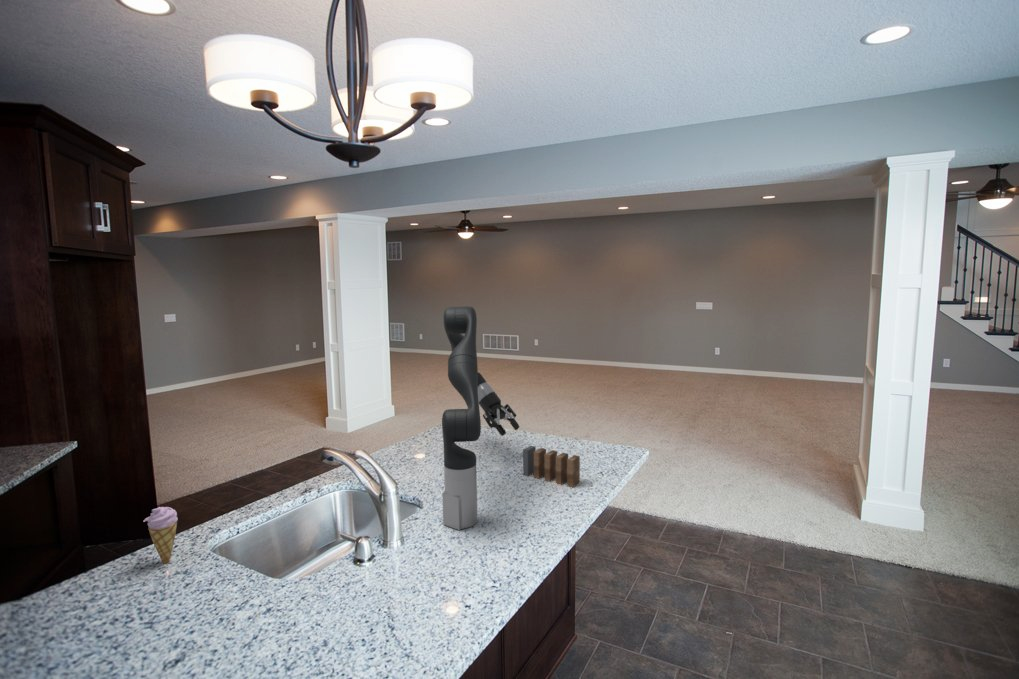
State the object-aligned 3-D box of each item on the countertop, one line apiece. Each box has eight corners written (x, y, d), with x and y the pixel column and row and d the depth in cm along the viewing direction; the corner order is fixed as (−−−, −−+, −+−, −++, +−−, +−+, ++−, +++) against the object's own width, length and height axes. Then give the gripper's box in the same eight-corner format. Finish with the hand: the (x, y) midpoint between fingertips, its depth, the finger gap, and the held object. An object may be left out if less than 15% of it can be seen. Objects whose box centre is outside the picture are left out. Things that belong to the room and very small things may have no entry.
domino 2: (538, 479, 179) (538, 452, 178) (533, 477, 181) (533, 451, 179) (546, 474, 183) (546, 448, 182) (541, 473, 185) (541, 447, 183)
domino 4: (560, 484, 174) (560, 457, 173) (555, 483, 175) (555, 456, 174) (568, 480, 178) (568, 453, 177) (563, 478, 179) (563, 452, 178)
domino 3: (549, 481, 177) (549, 455, 176) (544, 480, 178) (544, 454, 177) (557, 477, 181) (557, 451, 180) (552, 476, 182) (552, 450, 181)
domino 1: (527, 476, 182) (527, 450, 181) (523, 475, 183) (523, 449, 182) (535, 471, 186) (535, 446, 185) (530, 470, 187) (530, 445, 186)
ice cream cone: (144, 570, 125) (138, 512, 123) (154, 557, 131) (149, 501, 129) (175, 566, 126) (170, 508, 125) (184, 553, 132) (179, 498, 131)
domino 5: (572, 487, 171) (572, 460, 170) (567, 486, 173) (567, 459, 172) (579, 483, 175) (579, 456, 174) (574, 481, 177) (574, 455, 176)
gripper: (479, 394, 187) (505, 430, 182) (503, 387, 199) (527, 421, 194) (469, 407, 191) (493, 442, 186) (492, 399, 203) (516, 432, 197)
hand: (511, 431), depth 190 cm, fingers open, 8 cm apart
